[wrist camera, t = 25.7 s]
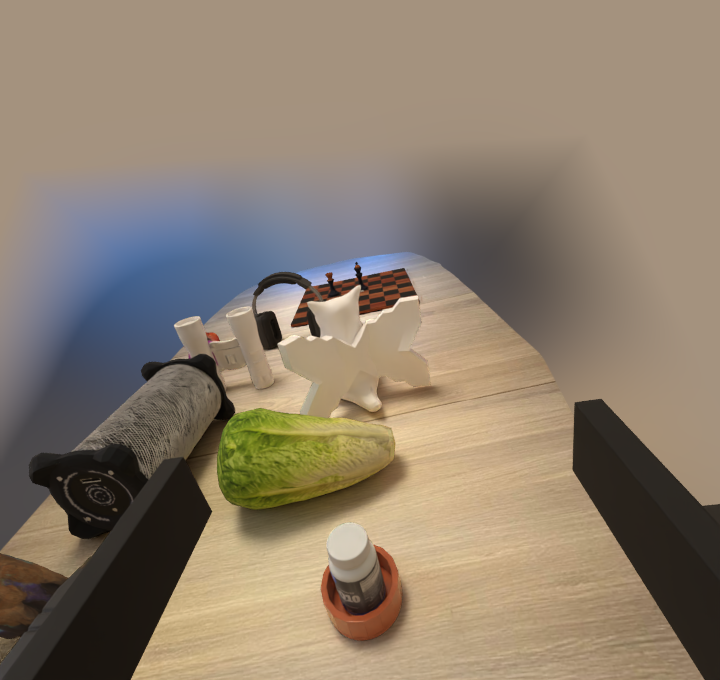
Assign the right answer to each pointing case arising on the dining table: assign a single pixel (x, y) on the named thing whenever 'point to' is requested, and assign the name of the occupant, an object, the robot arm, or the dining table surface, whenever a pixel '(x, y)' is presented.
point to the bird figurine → (24, 593)
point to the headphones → (267, 320)
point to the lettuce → (296, 456)
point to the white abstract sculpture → (355, 353)
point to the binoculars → (230, 346)
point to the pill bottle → (355, 569)
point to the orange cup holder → (374, 620)
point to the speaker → (134, 443)
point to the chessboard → (361, 292)
